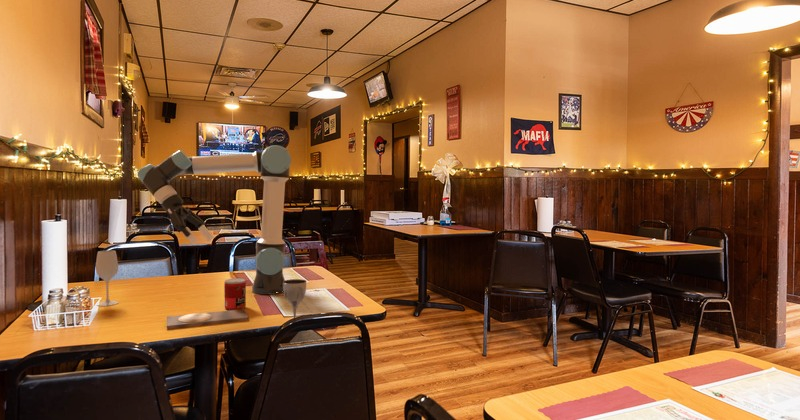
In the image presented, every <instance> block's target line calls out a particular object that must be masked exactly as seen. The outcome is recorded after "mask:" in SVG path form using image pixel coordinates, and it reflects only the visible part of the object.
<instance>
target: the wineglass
mask: <svg viewBox="0 0 800 420" xmlns="http://www.w3.org/2000/svg"><path fill="white" fill-rule="evenodd" d="M95 261H96V262H95V272H96V274H97V276H98V277H99V279H100V278H101V279H102V280H103V281H105V285H106V286H105V288H106V294H105V295H106V299H105V300H104V301H102V302H99V306H98V307H110V306H115V304H116V305H117V304H119V301H116V300H110V298H109V297H110V296H109V295H110V294H109V292H110V291H109V283H110V280H112V279H113V278H114V277H115V276H116V275H117V274H118V271H119V262H118V255H117V252H116V250H111V249H110V250H109V249H108V250H99V251H97V254H96V260H95Z"/></svg>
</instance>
